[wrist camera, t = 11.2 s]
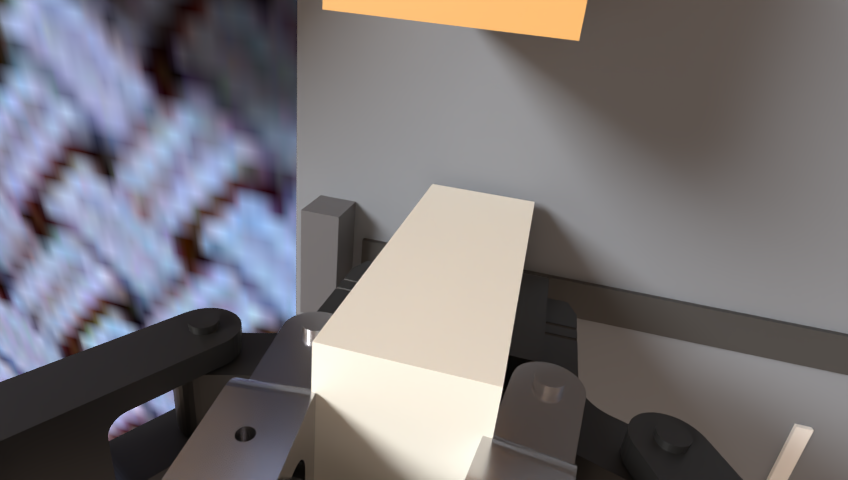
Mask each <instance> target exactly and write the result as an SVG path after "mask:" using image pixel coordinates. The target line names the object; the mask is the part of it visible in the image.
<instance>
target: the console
mask: <svg viewBox="0 0 848 480" xmlns="http://www.w3.org/2000/svg"><path fill="white" fill-rule="evenodd" d="M322 5H323V0H297V226H296V315H298V314H302V313H307V312H317V311H318V309H319V308H320V307H321V306H322V305H323V303H324V302H325V301H326V300H327V298H328V297H329V296H330V295H331V294H332V292H333V291H334V290H335V289H337V286H338V285H339V284H340V283H341V281H342V280H344V278H345V277H346V275H347V274H348V273H349V272H350V270H351V269H352V268H353V267H355V266H358V265H360V264H362V263H364V262H366V261H372V262H373V261H374V260H375V259H376V257H377V256H378V255H379V253H380V252H381V251H382V249H383V248H384V247H385V245H386V244H387V243H388V242H389V240H390V239H391V238H392V236H393V235H394V234H395V232H396V231H397V230H398V228H399V227H400V226H401V224H402V223H403V222H404V221H405V219H406V218H407V217H408V215H409V214H410V213H411V211H412V210H413V209H414V207H415V206H416V205H417V203H418V202H419V201H420V200H421V198H422V197H423V196H424V194H425V193H426V192H427V190H428V189H429V188H430V186H431V185H432V184H436V185H442V186H448V187H453V188H459V189H465V190H470V191H476V192H482V193H487V194H493V195H499V196H504V197H510V198H516V199H521V200H527V201H533V202H535V203H534V209H533V215H532V221H531V227H530V232H529V238H528V244H527V250H526V256H525V262H524V267H523V273H527V274H532V275H537V276H542V277H547V278H549V286H548V298H550V299H555V300H560V301H565V302H568V304H569V305H570V306H571V308H572V309H573V311H574V312H575V313H576V315H577V346H578V378H579V379H580V381H581V382H582V383H583V385H584V387H585V390H586V398H587V399H588V400H589V401H590V402H591V403H592V404H593V405H594V406H596V407H597V408H598V409H600V410H601V411H603V412H605V413H607V414H608V415H610V416H612V417H615V418H617V419H619V420H621V421H623V422H625V423H627V424H629V422H630V420H631V419H632V418H633V417H634V416H636V415H638V414H641V413H646V412H655V413H662V414H667V415H670V416H673V417H675V418H678V419H680V420H682V421H684V422H686V423H688V424H689V425H691V426H692V427H694V428H695V429H696V430H698V431H699V432H700V433H701V434H702V435H703V436H704V437H705V438H706V439H707V440H708V441H709V442H710V443H711V444H712V446H713V447H714V448H715V449H716V450H717V451H718V452H719V453H720V455H721V456H722V457H723V458H724V459H725V460H726V461H727V462H728V463H729V465H730V466H731V467H732V468H733V469H734V470H735V471H736V472H737V474H738V475H739V476H740V477H741V478H742V479H743V480H848V0H587V5H586V10H585V15H584V19H583V24H582V29H581V34H580V39H579V41H576V40H568V39H560V38H551V37H543V36H535V35H527V34H519V33H511V32H503V31H494V30H486V29H478V28H470V27H462V26H454V25H445V24H437V23H429V22H421V21H413V20H405V19H397V18H388V17H380V16H372V15H364V14H356V13H348V12H340V11H331V10H323V9H322Z"/></svg>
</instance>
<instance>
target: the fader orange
mask: <svg viewBox="0 0 848 480" xmlns="http://www.w3.org/2000/svg"><path fill="white" fill-rule="evenodd" d="M586 5H587V0H323V5H322V9H323V10H331V11H340V12H348V13H356V14H364V15H372V16H380V17H388V18H397V19H405V20H413V21H421V22H429V23H437V24H445V25H454V26H462V27H470V28H478V29H486V30H494V31H503V32H511V33H519V34H527V35H535V36H543V37H551V38H560V39H568V40H576V41H579V39H580V34H581V29H582V24H583V19H584V15H585V10H586Z"/></svg>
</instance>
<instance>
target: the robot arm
mask: <svg viewBox="0 0 848 480" xmlns="http://www.w3.org/2000/svg"><path fill="white" fill-rule="evenodd" d="M372 263H373V262H372V261H366V262H364V263H362V264H360V265H358V266H355V267H353V268H352V269H351V270H350V272H349V273H348V274H347V275H346V277H345V278H344V280H342V281H341V283H340V284H339V285H338V286H337V289H335V290H334V291H333V292H332V294H331V295H330V296H329V297H328V298H327V300H326V301H325V302H324V303H323V305H322V306H321V307H320V308H319V309H318V311H317V312H307V313H302V314H298V315H296V316H294V317H292V318H290V319H288V320H287V321H286V322H285V323H284V324H283V326H282V327H281V329H280V330H279V332H278V333H242V328H241V320H240V319H239V317H238V316H237V315H236V314H234V313H232V312H230V311H228V310H224V309H218V308H203V309H197V310H192V311H189V312H186V313H183V314H181V315H178V316H175V317H173V318H170V319H167V320H165V321H162V322H159V323H157V324H154V325H151V326H149V327H146V328H143V329H141V330H138V331H135V332H133V333H130V334H127V335H125V336H122V337H119V338H117V339H114V340H111V341H109V342H106V343H103V344H101V345H98V346H95V347H93V348H90V349H87V350H85V351H82V352H79V353H77V354H74V355H71V356H69V357H66V358H63V359H61V360H58V361H55V362H53V363H50V364H47V365H45V366H42V367H39V368H37V369H34V370H31V371H29V372H26V373H23V374H21V375H18V376H15V377H13V378H10V379H7V380H5V381H2V382H0V480H314V450H315V406H316V393H314V392H311V377H312V341H313V340H314V339H315V337H316V336H317V335H318V333H319V332H320V331H321V329H322V328H323V327H324V326H325V324H326V323H327V322H328V320H329V319H330V318H331V316H332V315H333V314H334V312H335V311H336V310H337V308H338V307H339V306H340V305H341V303H342V302H343V301H344V299H345V298H346V297H347V295H348V294H349V293H350V291H351V290H352V289H353V287H354V286H355V285H356V284H357V282H358V281H359V280H360V278H361V277H362V276H363V274H364V273H365V272H366V270H367V269H368V268H369V266H370V265H371V264H372ZM548 286H549V278H547V277H542V276H537V275H532V274H527V273H522V279H521V285H520V291H519V297H518V303H517V308H516V314H515V320H514V326H513V332H512V338H511V344H510V349H509V355H508V361H507V367H506V373H505V379H504V384H503V390H502V395H501V400H500V404H499V409H498V414H497V419H496V424H495V429H494V434H493V438H489V437H486V436H482V438H481V441H480V443H479V446H478V448H477V451H476V453H475V456H474V458H473V460H472V463H471V465H470V468H469V470H468V473H467V475H466V478H465V480H743V479H742V478H741V477H740V476H739V475H738V474H737V472H736V471H735V470H734V469H733V468H732V467H731V466H730V465H729V463H728V462H727V461H726V460H725V459H724V458H723V457H722V456H721V455H720V453H719V452H718V451H717V450H716V449H715V448H714V447H713V446H712V444H711V443H710V442H709V441H708V440H707V439H706V438H705V437H704V436H703V435H702V434H701V433H700V432H699V431H698V430H696V429H695V428H694V427H692V426H691V425H689V424H688V423H686V422H684V421H682V420H680V419H678V418H675V417H673V416H670V415H667V414H662V413H655V412H646V413H641V414H638V415H636V416H634V417H633V418H632V419H631V420H630V422H629V424H627V423H625V422H623V421H621V420H619V419H617V418H615V417H612V416H610V415H608V414H607V413H605V412H603V411H601V410H600V409H598V408H597V407H596V406H594V405H593V404H592V403H591V402H590V401H589V400H588V399H587V398H586V390H585V387H584V385H583V383H582V382H581V381H580V379H579V378H578V346H577V315H576V313H575V312H574V311H573V309H572V308H571V306H570V305H569V304H568V302H565V301H560V300H555V299H550V298H548ZM171 390H173V392H174V401H175V409H173V410H171V411H169V412H167V413H165V414H163V415H161V416H159V417H157V418H155V419H153V420H151V421H149V422H147V423H145V424H143V425H141V426H139V427H137V428H135V429H133V430H131V431H129V432H127V433H125V434H123V435H121V436H119V437H117V438H115V439H113V440H111V441H108V432H109V429H110V427H111V425H112V424H113V422H114V421H115V420H116V419H117V418H118V417H119V416H120V415H122V414H123V413H125V412H127V411H129V410H131V409H133V408H135V407H137V406H139V405H141V404H144V403H146V402H148V401H150V400H152V399H154V398H156V397H158V396H160V395H163V394H165V393H167V392H169V391H171Z"/></svg>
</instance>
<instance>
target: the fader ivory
mask: <svg viewBox="0 0 848 480" xmlns="http://www.w3.org/2000/svg"><path fill="white" fill-rule="evenodd" d="M534 203H535V202H533V201H527V200H521V199H516V198H510V197H504V196H499V195H493V194H487V193H482V192H476V191H470V190H465V189H459V188H453V187H448V186H442V185H436V184H432V185H431V186H430V188H429V189H428V190H427V192H426V193H425V194H424V196H423V197H422V198H421V200H420V201H419V202H418V203H417V205H416V206H415V207H414V209H413V210H412V211H411V213H410V214H409V215H408V217H407V218H406V219H405V221H404V222H403V223H402V224H401V226H400V227H399V228H398V230H397V231H396V232H395V234H394V235H393V236H392V238H391V239H390V240H389V242H388V243H387V244H386V245H385V247H384V248H383V249H382V251H381V252H380V253H379V255H378V256H377V257H376V259H375V260H374V261H373V263H372V264H371V265H370V266H369V268H368V269H367V270H366V272H365V273H364V274H363V276H362V277H361V278H360V280H359V281H358V282H357V284H356V285H355V286H354V287H353V289H352V290H351V291H350V293H349V294H348V295H347V297H346V298H345V299H344V301H343V302H342V303H341V305H340V306H339V307H338V308H337V310H336V311H335V312H334V314H333V315H332V316H331V318H330V319H329V320H328V322H327V323H326V324H325V326H324V327H323V328H322V329H321V331H320V332H319V333H318V335H317V336H316V337H315V339H314V340H313V341H312V377H311V392H314V393H316V406H315V450H314V480H465V478H466V475H467V473H468V470H469V468H470V465H471V463H472V460H473V458H474V456H475V453H476V451H477V448H478V446H479V443H480V441H481V438H482V436H486V437H489V438H493V434H494V429H495V424H496V419H497V414H498V409H499V404H500V400H501V395H502V390H503V384H504V379H505V373H506V367H507V361H508V355H509V349H510V344H511V338H512V332H513V326H514V320H515V314H516V308H517V303H518V297H519V291H520V285H521V279H522V273H523V267H524V262H525V256H526V250H527V244H528V238H529V232H530V227H531V221H532V215H533V209H534Z"/></svg>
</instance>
